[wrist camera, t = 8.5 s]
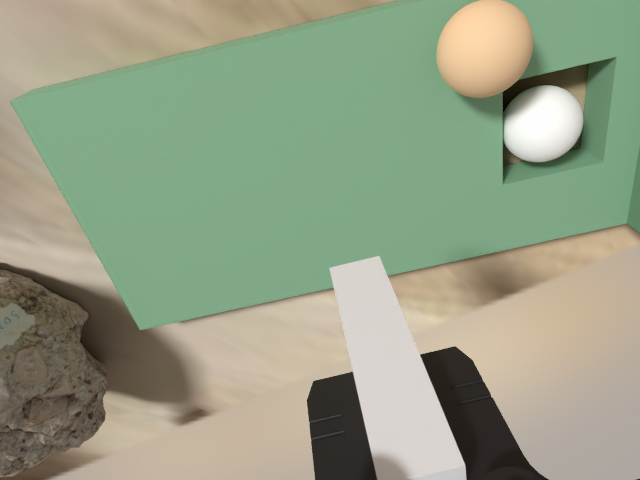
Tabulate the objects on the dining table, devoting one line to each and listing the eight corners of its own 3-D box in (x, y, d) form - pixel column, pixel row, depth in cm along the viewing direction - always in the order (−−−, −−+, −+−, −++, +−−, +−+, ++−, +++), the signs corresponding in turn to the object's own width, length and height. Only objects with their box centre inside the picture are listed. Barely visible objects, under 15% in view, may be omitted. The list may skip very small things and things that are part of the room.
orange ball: (429, 95, 20) (455, 117, 17) (421, 7, 18) (450, 16, 15) (508, 76, 20) (549, 96, 17) (509, -14, 18) (554, -9, 15)
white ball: (567, 179, 20) (589, 146, 22) (573, 101, 18) (596, 73, 20) (489, 170, 22) (516, 142, 24) (487, 100, 21) (516, 75, 23)
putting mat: (148, 307, 27) (130, 356, 24) (32, 90, 20) (-18, 115, 17) (617, 203, 26) (669, 239, 23) (658, -64, 19) (740, -70, 16)
